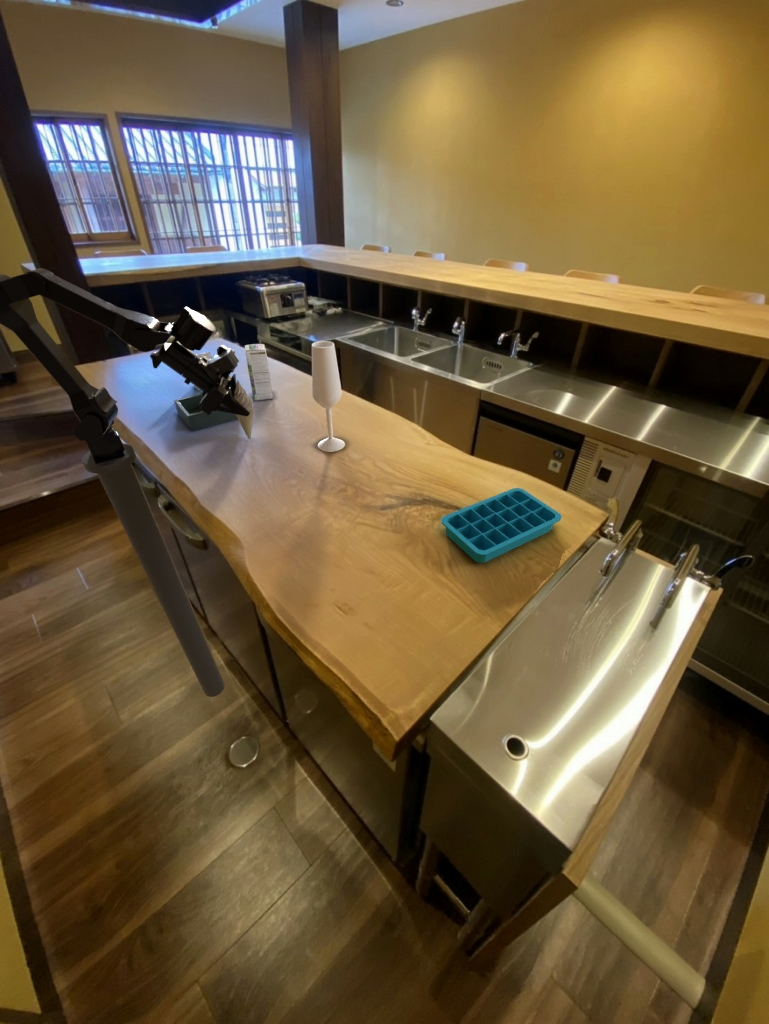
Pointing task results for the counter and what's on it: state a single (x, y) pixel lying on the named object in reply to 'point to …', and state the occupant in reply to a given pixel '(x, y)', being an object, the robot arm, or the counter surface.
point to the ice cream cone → (248, 404)
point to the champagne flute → (326, 387)
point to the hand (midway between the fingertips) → (249, 410)
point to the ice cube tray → (499, 524)
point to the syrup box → (258, 371)
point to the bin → (199, 413)
